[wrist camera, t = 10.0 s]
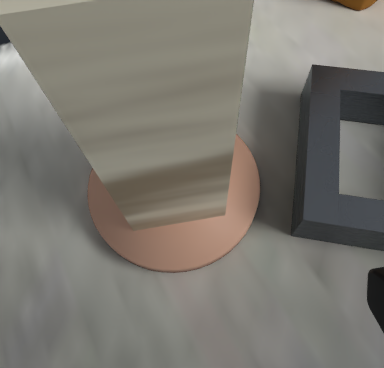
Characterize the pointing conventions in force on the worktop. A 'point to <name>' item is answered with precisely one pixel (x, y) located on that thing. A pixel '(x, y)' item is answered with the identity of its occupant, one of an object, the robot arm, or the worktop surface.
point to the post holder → (335, 158)
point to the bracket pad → (181, 224)
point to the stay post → (143, 94)
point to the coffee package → (356, 3)
